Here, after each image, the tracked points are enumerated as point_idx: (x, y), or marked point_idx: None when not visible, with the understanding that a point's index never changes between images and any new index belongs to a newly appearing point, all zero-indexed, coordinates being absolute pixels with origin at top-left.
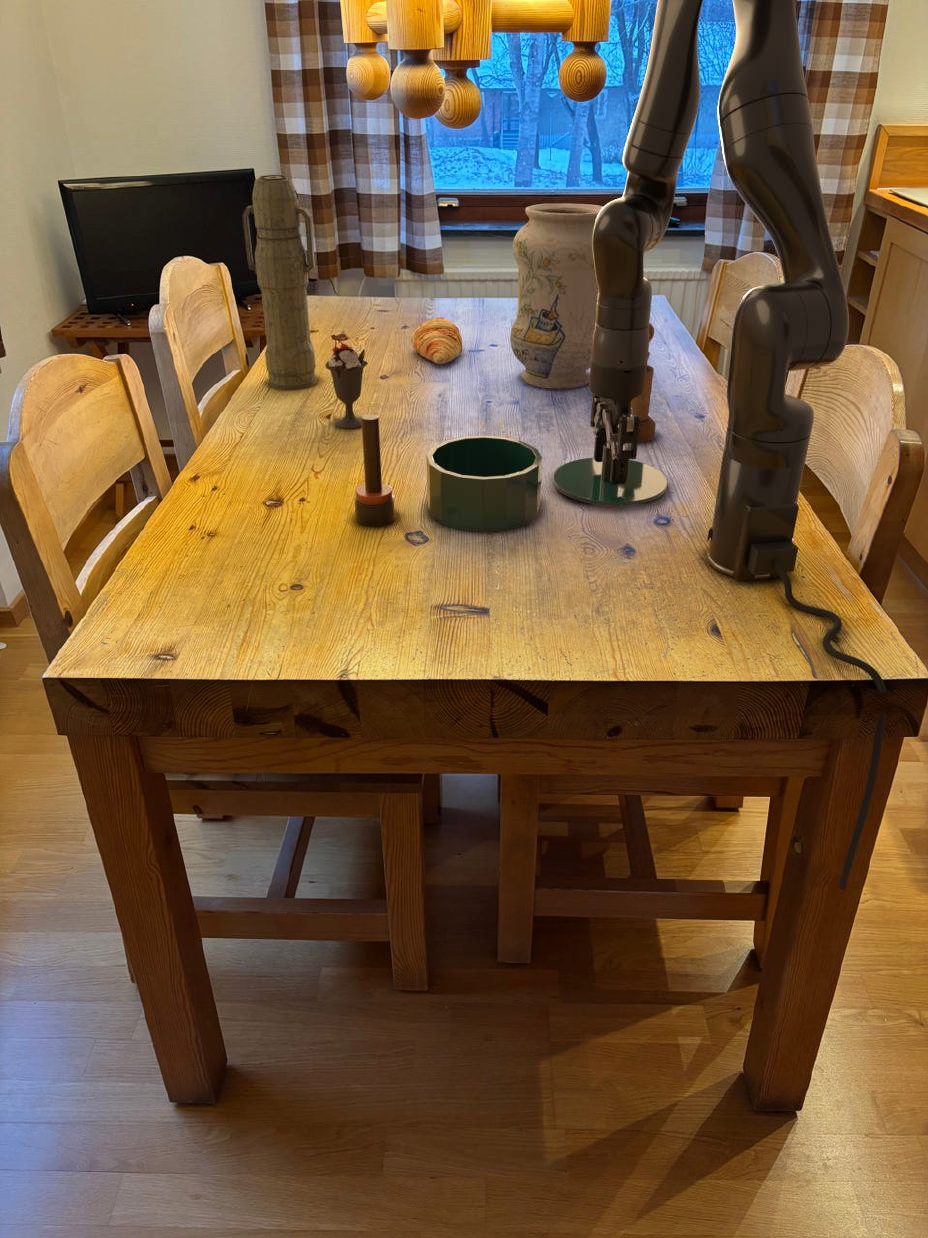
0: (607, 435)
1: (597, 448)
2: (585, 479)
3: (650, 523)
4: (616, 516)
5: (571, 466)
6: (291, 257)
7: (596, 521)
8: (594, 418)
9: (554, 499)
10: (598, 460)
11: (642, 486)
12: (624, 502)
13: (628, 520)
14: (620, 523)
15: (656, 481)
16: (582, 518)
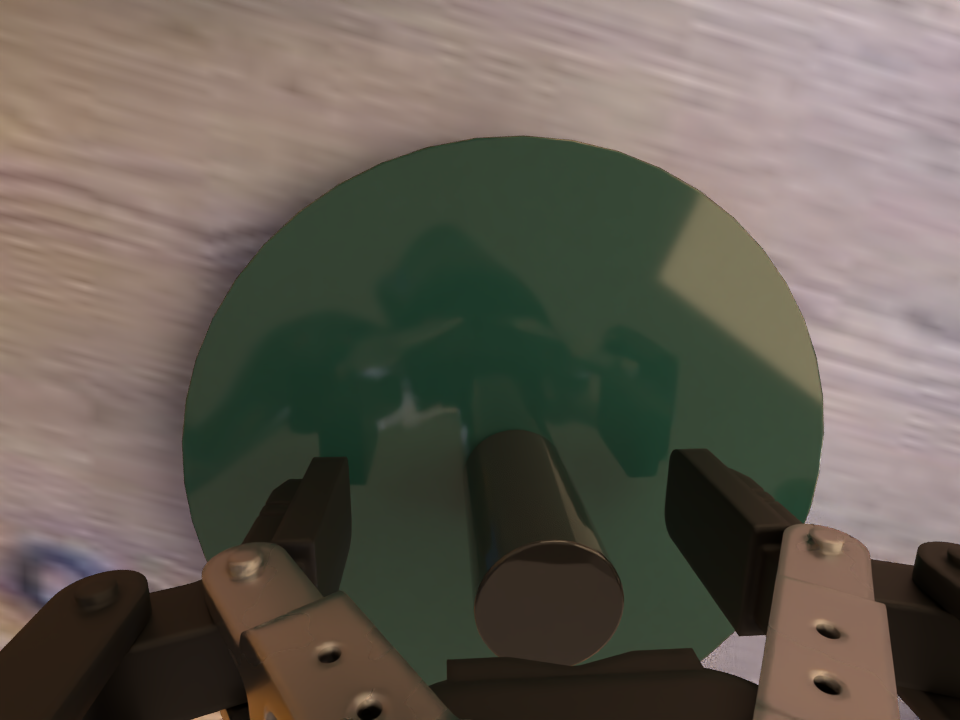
0: (334, 635)
1: (709, 495)
2: (524, 338)
3: (36, 530)
4: (124, 393)
5: (732, 306)
6: None
7: (59, 270)
8: (877, 621)
9: (382, 102)
10: (674, 468)
11: (378, 606)
12: (186, 468)
13: (72, 438)
14: (34, 389)
15: (431, 682)
16: (100, 200)
